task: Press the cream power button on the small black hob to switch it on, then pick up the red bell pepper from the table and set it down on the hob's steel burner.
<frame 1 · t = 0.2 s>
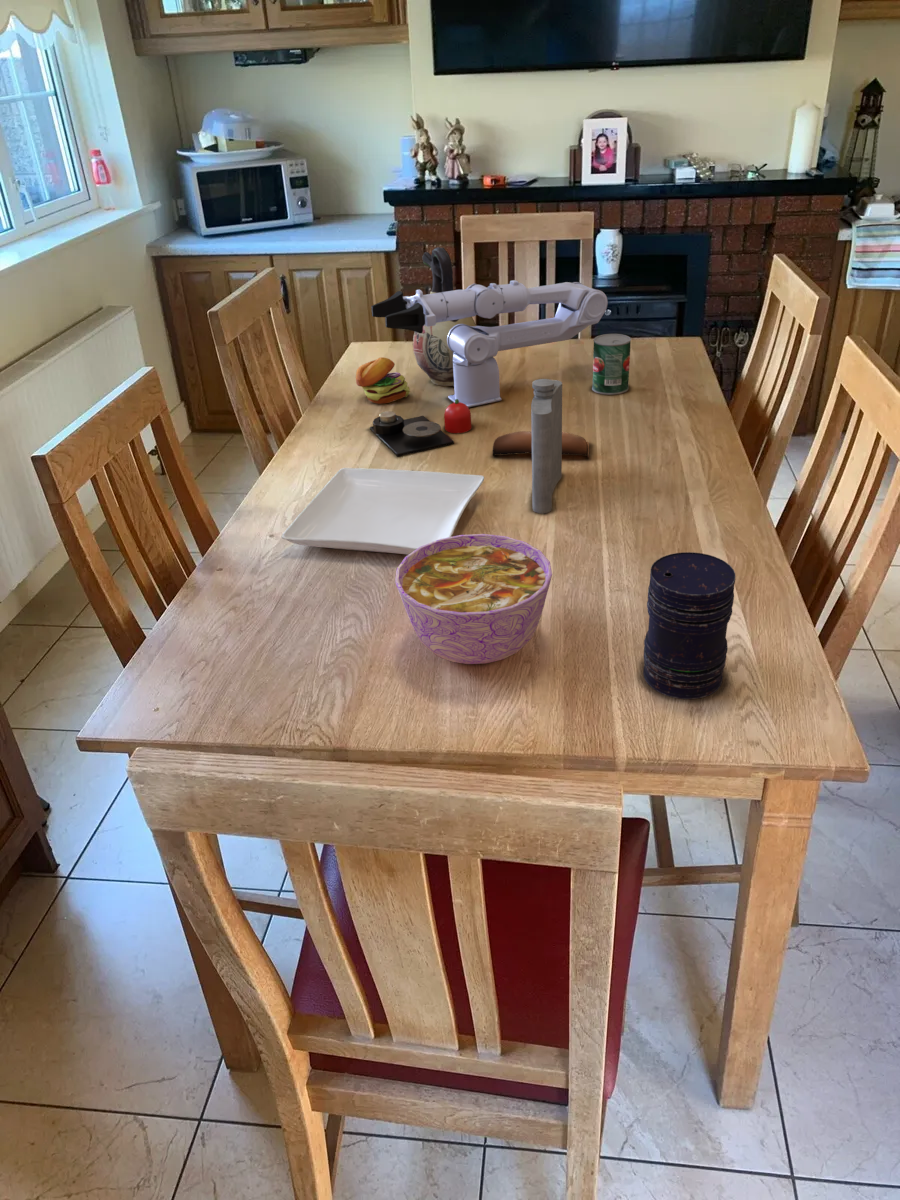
hand: (378, 316, 183), 21 cm above the table, tool horizontal, fingers open, 7 cm apart
burner: (421, 429, 183), resting on hob
pepper: (458, 428, 188), on the table
storage jar: (682, 676, 115), on the table
sunglasses case: (541, 452, 176), on the table
hob button: (387, 418, 186), point 3 cm above the table, slide at 0.1 cm
ceramic jug: (450, 382, 212), on the table
cheeseburger: (384, 398, 205), on the table
hob: (411, 436, 185), on the table
square plate: (389, 524, 154), on the table
canned tomato: (610, 389, 202), on the table
bowl of food: (477, 646, 123), on the table
hip flask: (545, 493, 161), on the table
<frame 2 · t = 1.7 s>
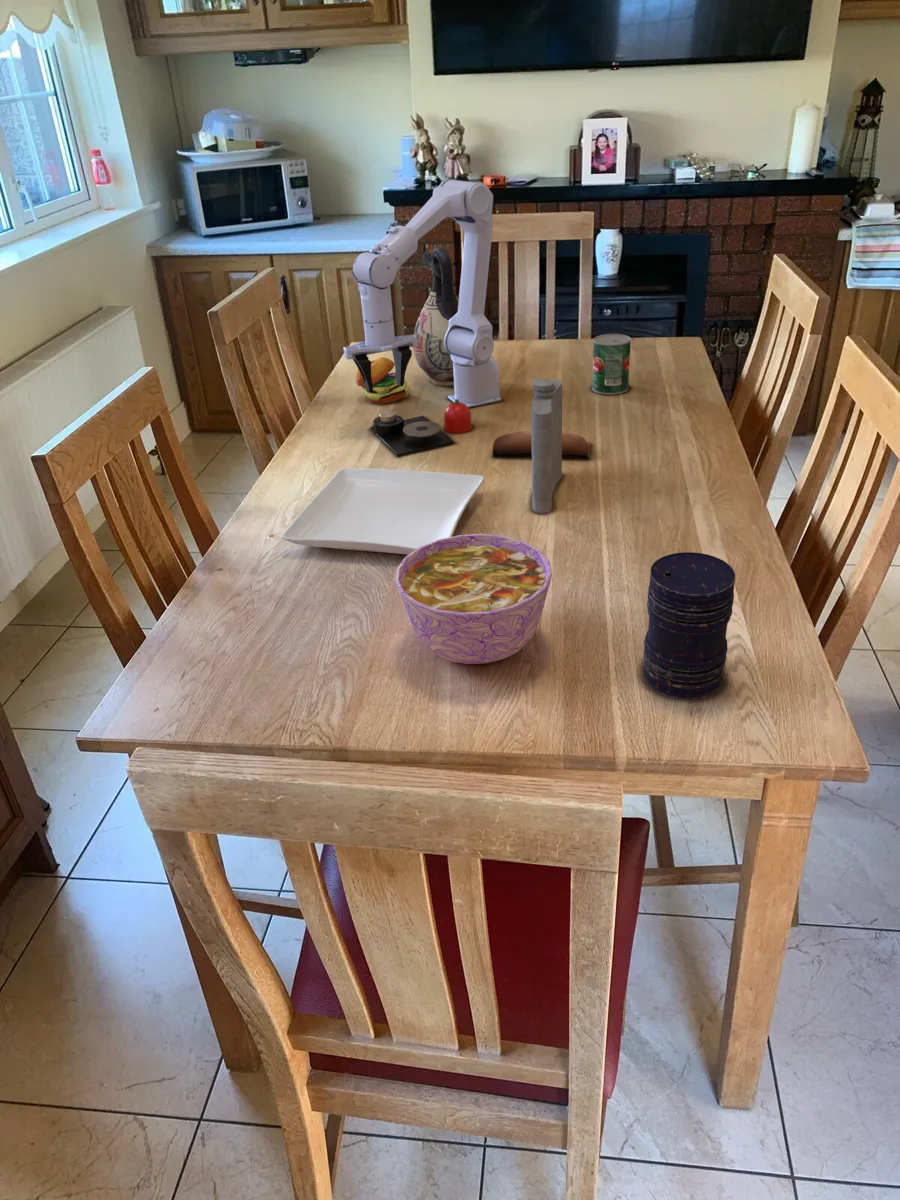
hand: (384, 387, 183), 9 cm above the table, tool pointing down, fingers open, 6 cm apart
nothing on the table moved.
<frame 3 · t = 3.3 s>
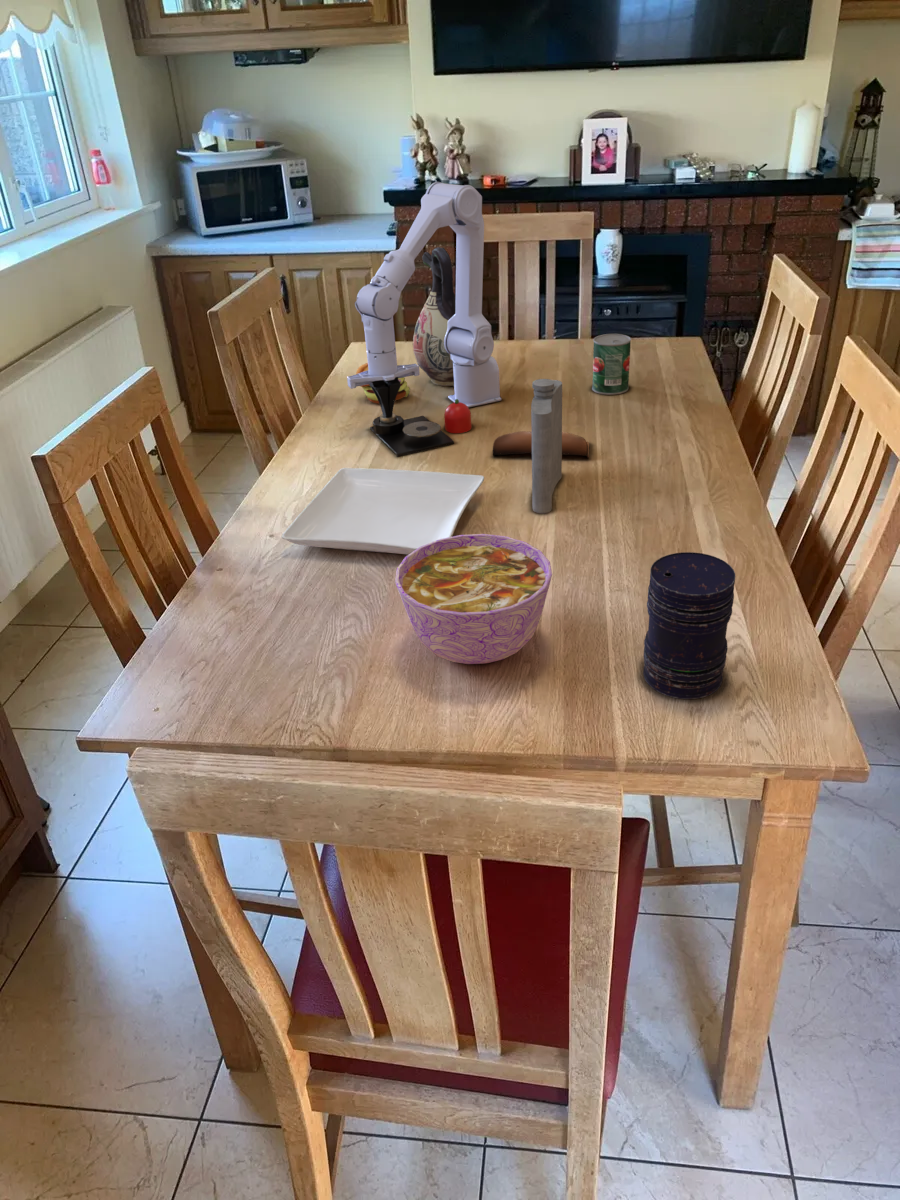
hand: (387, 415, 186), 4 cm above the table, tool pointing down, fingers closed, pressing on hob button
hob button: (388, 419, 186), point 3 cm above the table, slide at -0.2 cm, touching gripper
everything else where it was.
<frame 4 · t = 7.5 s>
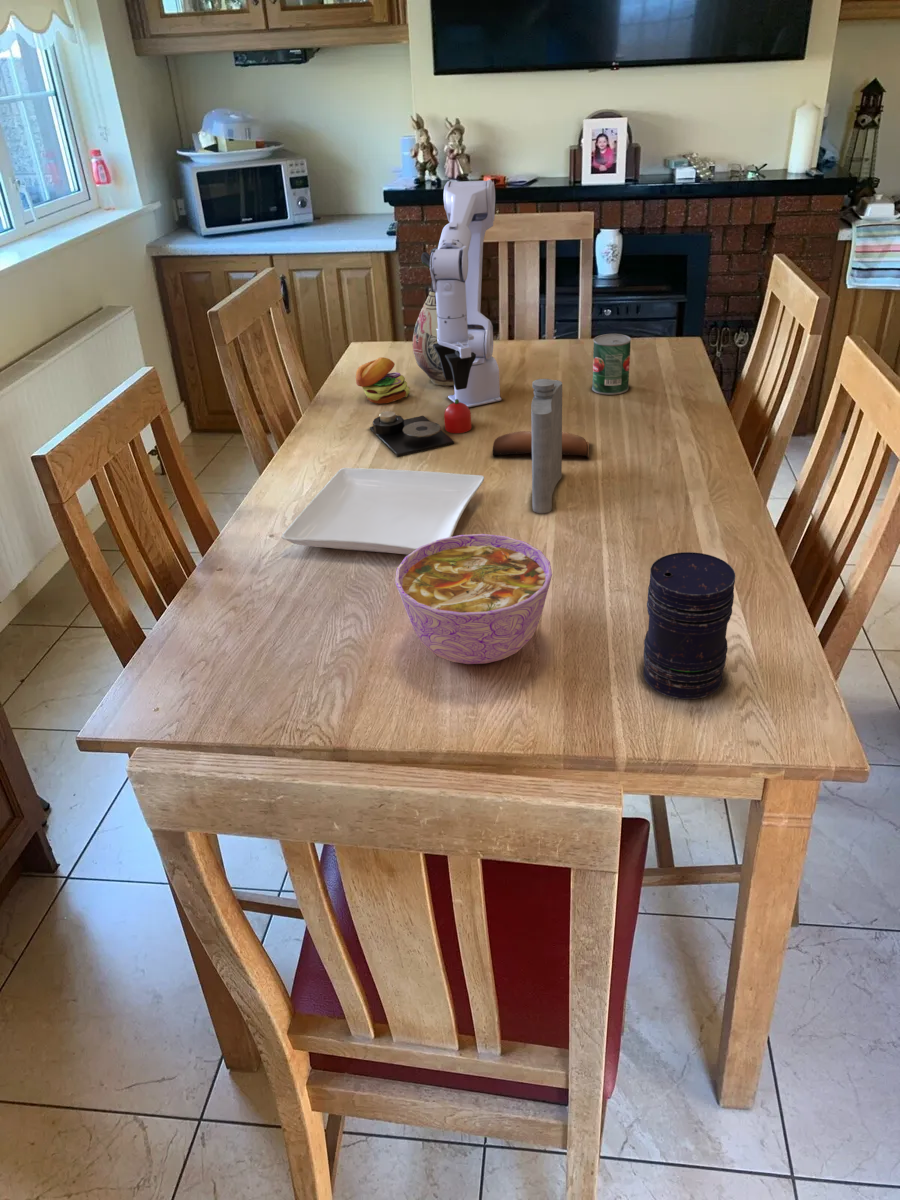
hand: (455, 383, 182), 9 cm above the table, tool pointing down, fingers open, 6 cm apart
hob button: (387, 417, 186), point 3 cm above the table, slide at 0.1 cm
ceramic jug: (450, 381, 212), on the table, touching arm
everything else where it was.
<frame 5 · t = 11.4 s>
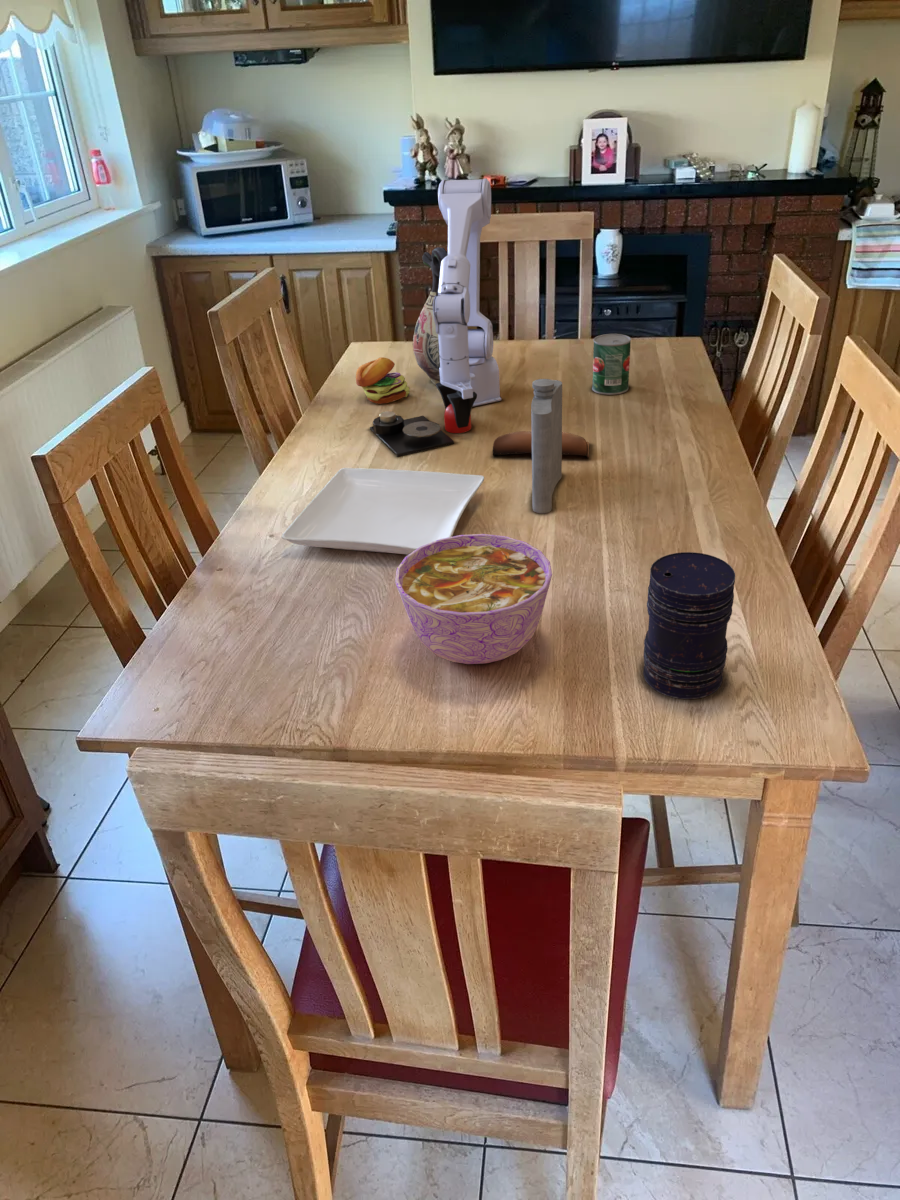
hand: (457, 421, 187), 1 cm above the table, tool pointing down, fingers closed on pepper, 5 cm apart
pepper: (458, 428, 188), on the table, touching gripper
ceramic jug: (450, 382, 212), on the table
everything else where it was.
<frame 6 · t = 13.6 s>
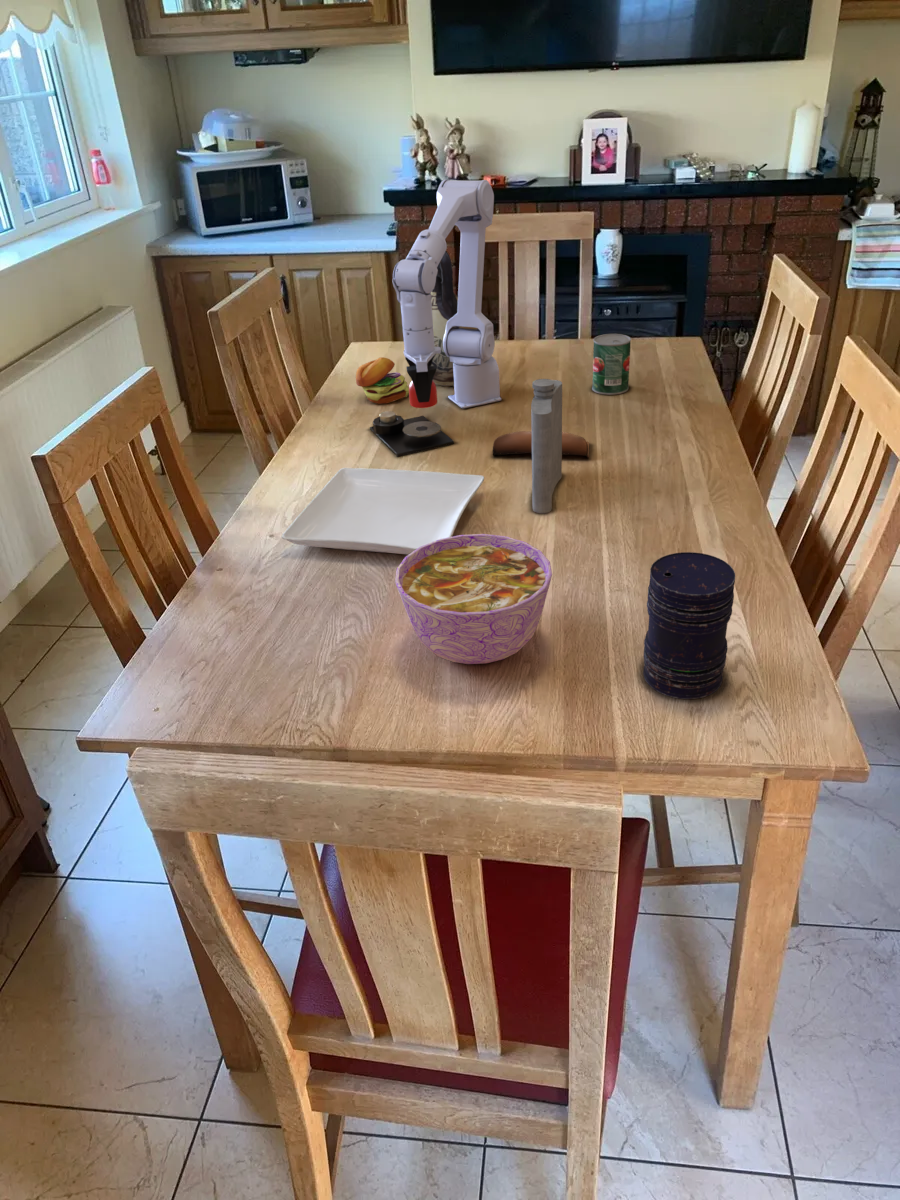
hand: (423, 396, 179), 9 cm above the table, tool pointing down, fingers closed on pepper, 5 cm apart
pepper: (423, 403, 180), point 7 cm above the table, touching gripper
everything else where it was.
when the fingers open (4 cm above the table, at t = 15.6 s): pepper stays where it is, resting on burner.
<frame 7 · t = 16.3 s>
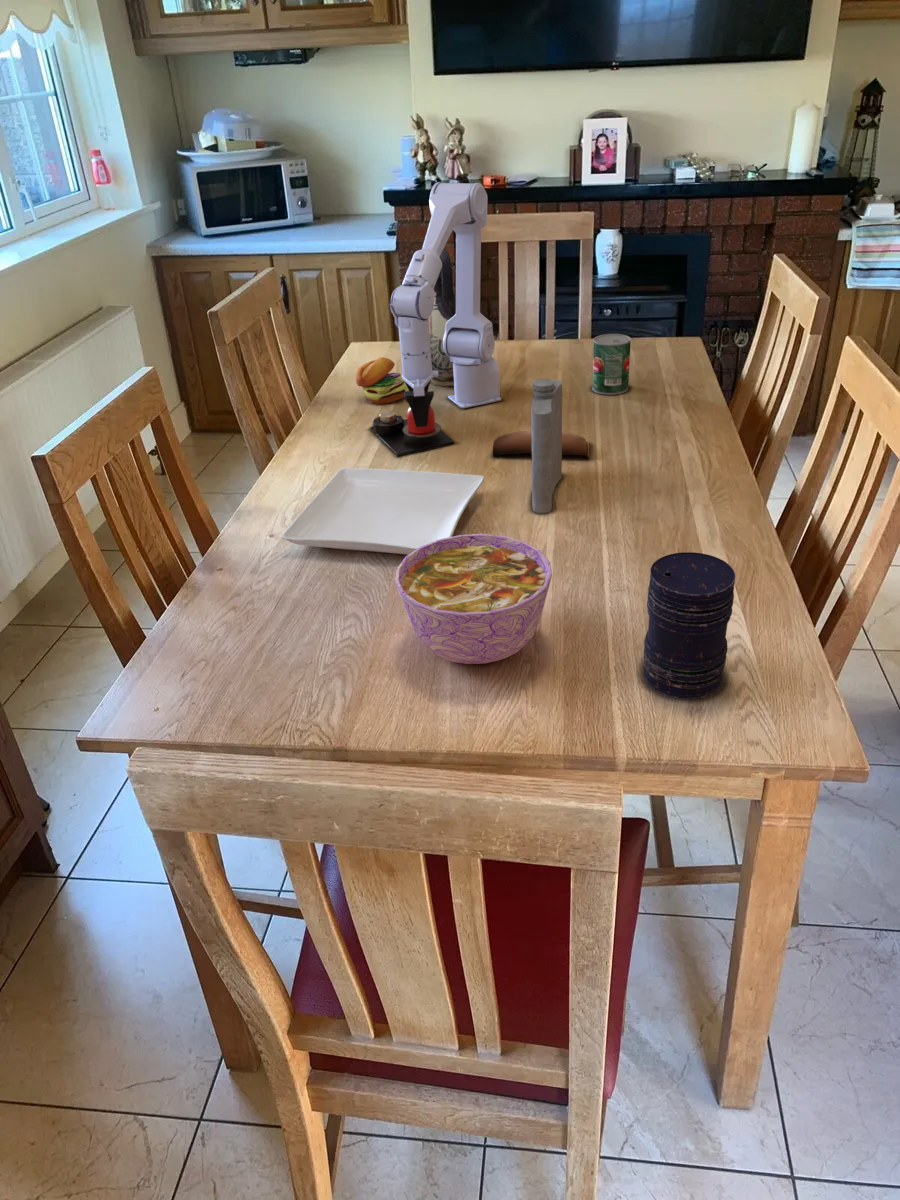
hand: (421, 418, 181), 4 cm above the table, tool pointing down, fingers open, 7 cm apart
pepper: (421, 428, 183), point 2 cm above the table, touching burner
everything else where it was.
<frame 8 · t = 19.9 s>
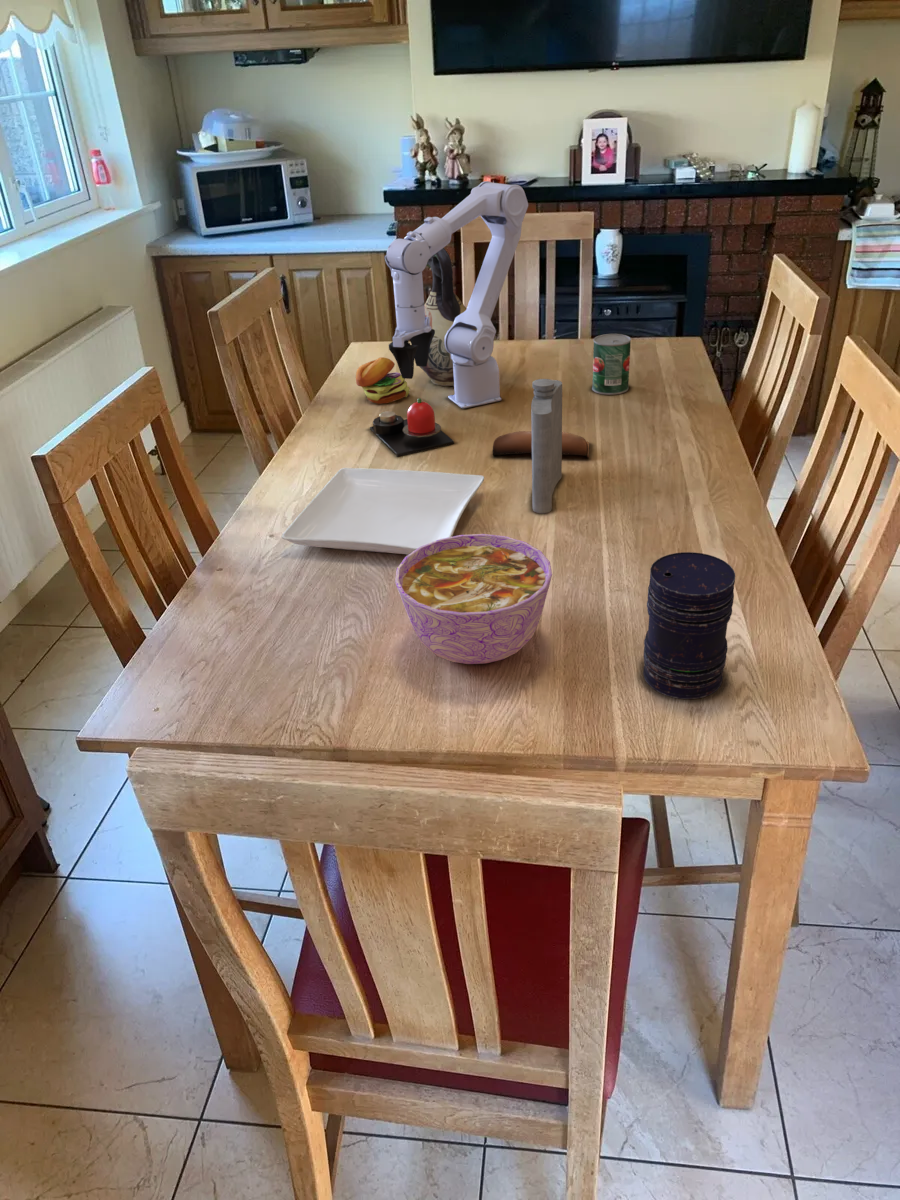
hand: (414, 371, 187), 10 cm above the table, tool pointing down, fingers open, 7 cm apart
nothing on the table moved.
at the end: hob button pushed in 1.5 cm at the most during the clip, back to where it started at the end; pepper 0.0 cm off-centre on the burner, point 0.3 cm above the burner's base; pepper tilted 0° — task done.
